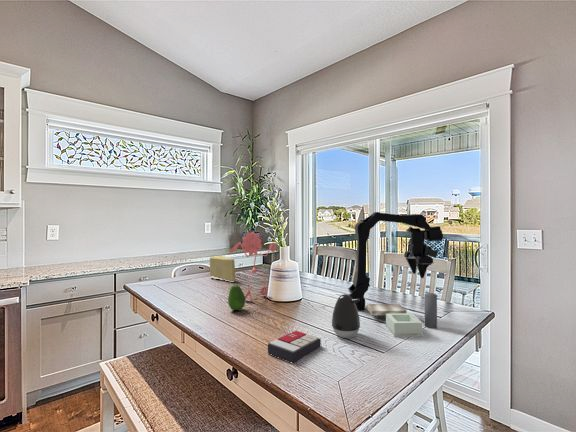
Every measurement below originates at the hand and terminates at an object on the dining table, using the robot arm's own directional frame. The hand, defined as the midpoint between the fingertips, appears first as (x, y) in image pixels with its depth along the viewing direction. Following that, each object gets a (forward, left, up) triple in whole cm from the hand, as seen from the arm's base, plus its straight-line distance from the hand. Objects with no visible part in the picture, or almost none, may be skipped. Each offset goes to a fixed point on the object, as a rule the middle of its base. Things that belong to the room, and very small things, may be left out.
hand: (418, 275), depth 147 cm
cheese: (-101, +61, -15) cm, 119 cm away
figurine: (-78, +20, -15) cm, 82 cm away
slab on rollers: (-18, -12, -15) cm, 26 cm away
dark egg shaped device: (-38, -30, -15) cm, 51 cm away
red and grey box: (-57, -41, -15) cm, 72 cm away
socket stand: (-16, -27, -15) cm, 35 cm away
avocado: (-83, 0, -15) cm, 85 cm away
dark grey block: (-4, -23, -15) cm, 27 cm away
